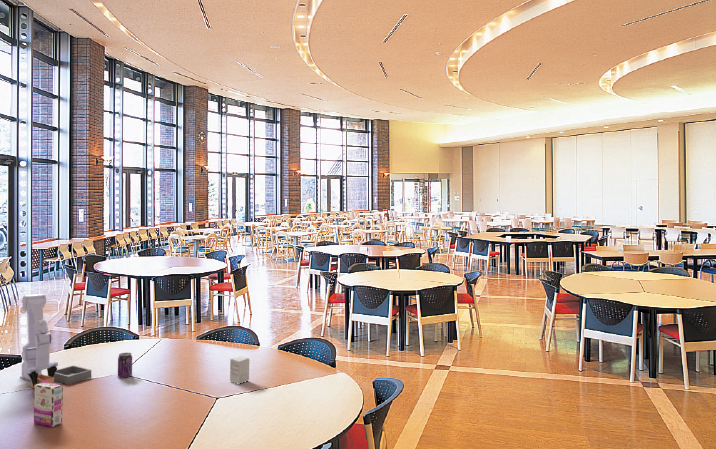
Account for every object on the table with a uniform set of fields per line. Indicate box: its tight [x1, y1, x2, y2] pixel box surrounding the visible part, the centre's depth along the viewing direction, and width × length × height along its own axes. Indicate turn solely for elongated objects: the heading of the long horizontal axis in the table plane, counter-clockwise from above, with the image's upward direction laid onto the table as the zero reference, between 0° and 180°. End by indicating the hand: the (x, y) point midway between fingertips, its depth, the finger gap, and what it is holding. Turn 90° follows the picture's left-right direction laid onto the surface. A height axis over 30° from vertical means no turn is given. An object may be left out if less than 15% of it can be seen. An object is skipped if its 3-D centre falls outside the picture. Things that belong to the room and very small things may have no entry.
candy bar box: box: [33, 382, 64, 428], centre depth 215 cm, size 11×5×16 cm, turn 69°
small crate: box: [30, 373, 55, 388], centre depth 257 cm, size 10×5×5 cm, turn 63°
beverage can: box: [117, 352, 133, 379], centre depth 276 cm, size 7×7×12 cm
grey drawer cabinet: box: [229, 355, 250, 385], centre depth 273 cm, size 7×7×13 cm
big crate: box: [53, 365, 92, 385], centre depth 270 cm, size 15×13×4 cm
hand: (42, 383), depth 257 cm, fingers open, 7 cm apart
